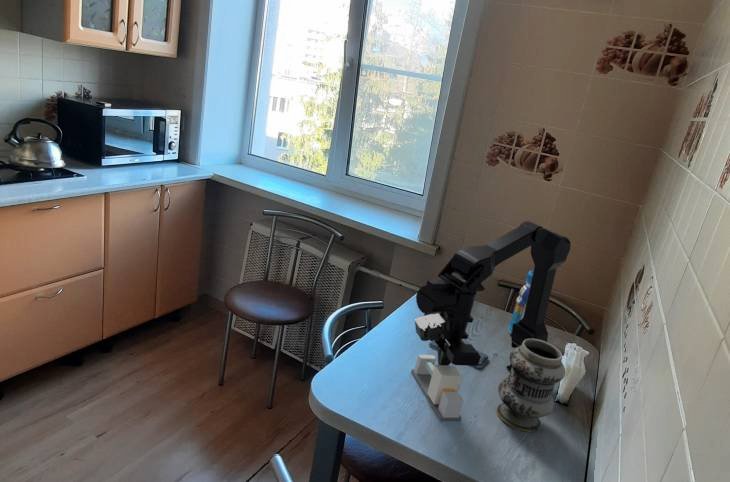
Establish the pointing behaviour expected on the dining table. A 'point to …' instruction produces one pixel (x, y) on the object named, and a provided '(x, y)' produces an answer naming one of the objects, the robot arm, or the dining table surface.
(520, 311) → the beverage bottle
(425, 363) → the grey piece
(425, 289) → the robot arm
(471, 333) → the dining table surface
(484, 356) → the smartphone
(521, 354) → the apothecary jar
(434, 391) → the white block
